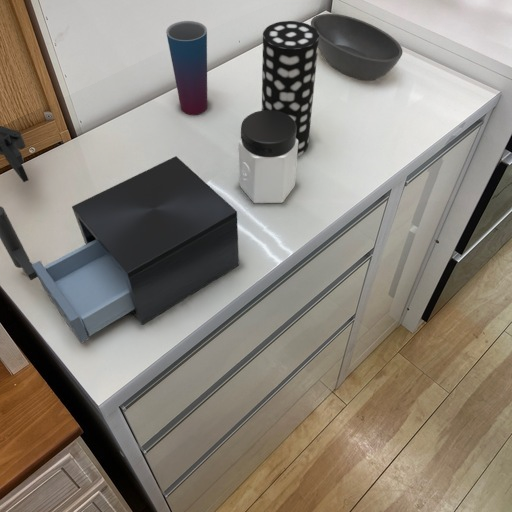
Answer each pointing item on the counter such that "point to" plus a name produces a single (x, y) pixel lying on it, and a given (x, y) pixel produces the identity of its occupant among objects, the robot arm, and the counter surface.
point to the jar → (268, 156)
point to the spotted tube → (290, 73)
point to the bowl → (356, 46)
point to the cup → (189, 64)
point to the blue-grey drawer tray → (76, 282)
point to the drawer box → (163, 234)
